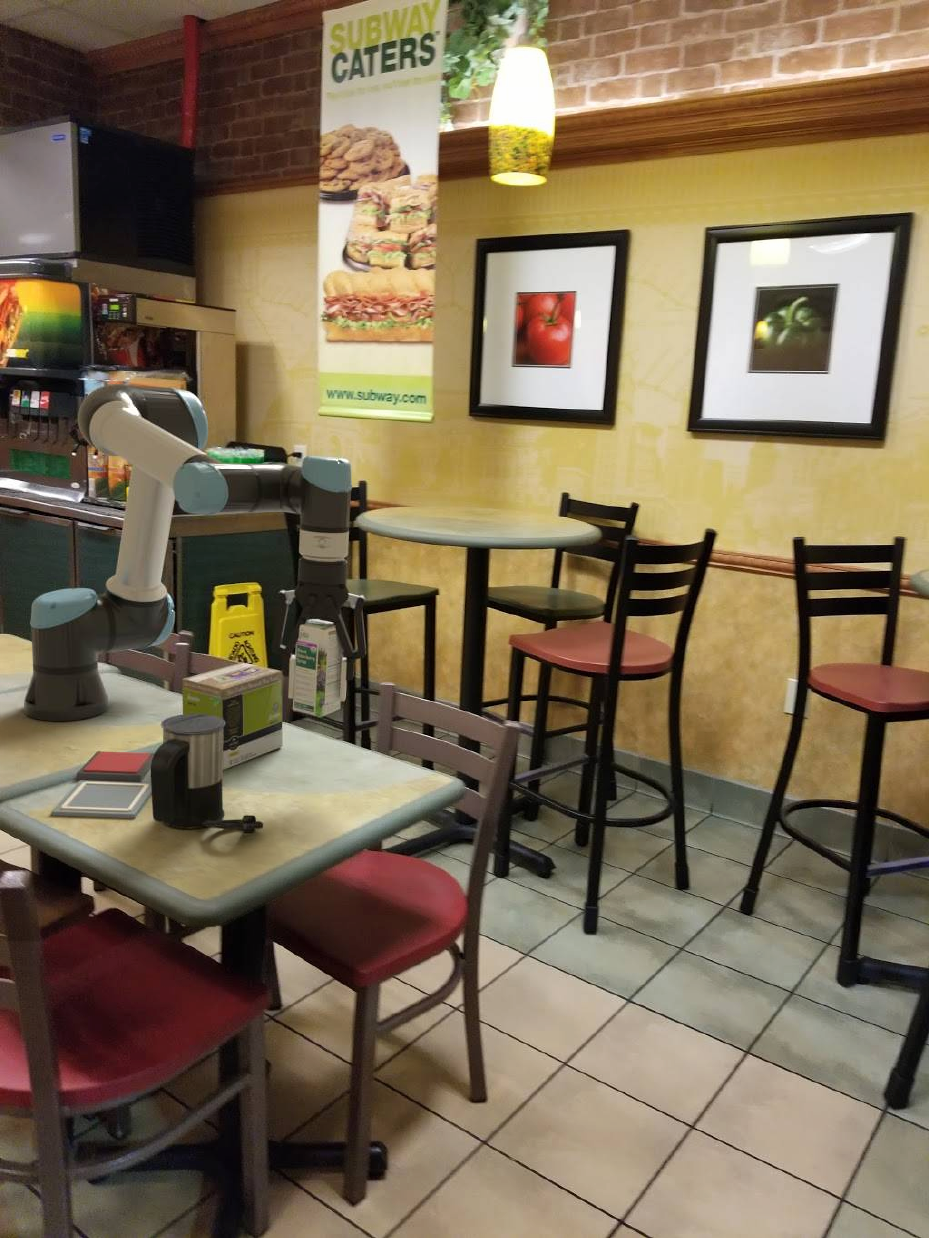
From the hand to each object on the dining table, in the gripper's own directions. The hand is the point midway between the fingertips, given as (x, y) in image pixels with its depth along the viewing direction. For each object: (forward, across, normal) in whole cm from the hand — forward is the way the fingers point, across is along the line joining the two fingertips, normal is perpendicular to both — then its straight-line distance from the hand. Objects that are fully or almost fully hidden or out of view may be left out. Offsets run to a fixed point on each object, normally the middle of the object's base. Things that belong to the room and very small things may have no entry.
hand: (317, 697), depth 149 cm
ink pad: (+16, -32, +4) cm, 36 cm away
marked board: (+16, -31, -9) cm, 35 cm away
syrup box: (+2, 0, 0) cm, 2 cm away
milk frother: (+16, -13, -16) cm, 26 cm away
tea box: (+16, -16, +14) cm, 26 cm away
